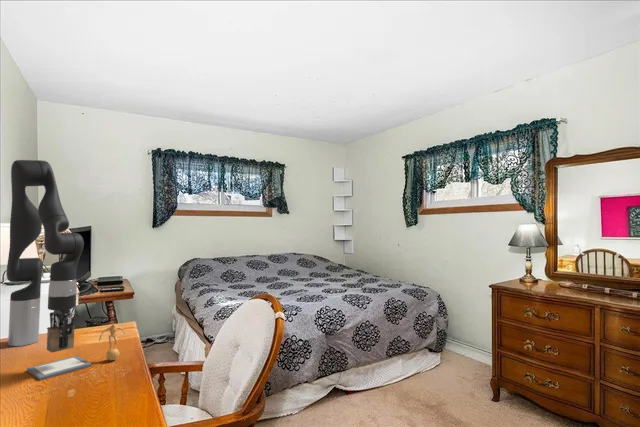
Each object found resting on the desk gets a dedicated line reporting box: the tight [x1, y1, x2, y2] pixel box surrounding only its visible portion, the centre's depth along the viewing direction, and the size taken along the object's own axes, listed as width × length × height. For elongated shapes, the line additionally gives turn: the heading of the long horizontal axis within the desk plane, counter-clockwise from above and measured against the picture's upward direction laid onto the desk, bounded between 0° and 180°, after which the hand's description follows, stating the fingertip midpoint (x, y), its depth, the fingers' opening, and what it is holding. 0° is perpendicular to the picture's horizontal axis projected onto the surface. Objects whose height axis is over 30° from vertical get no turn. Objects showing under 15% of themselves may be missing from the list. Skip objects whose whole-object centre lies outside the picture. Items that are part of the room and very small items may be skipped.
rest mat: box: [26, 355, 93, 381], centre depth 116 cm, size 12×14×1 cm
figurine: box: [98, 324, 127, 361], centre depth 125 cm, size 8×6×12 cm
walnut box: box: [46, 324, 76, 354], centre depth 116 cm, size 5×6×7 cm
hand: (60, 346), depth 116 cm, fingers closed on walnut box, 4 cm apart
